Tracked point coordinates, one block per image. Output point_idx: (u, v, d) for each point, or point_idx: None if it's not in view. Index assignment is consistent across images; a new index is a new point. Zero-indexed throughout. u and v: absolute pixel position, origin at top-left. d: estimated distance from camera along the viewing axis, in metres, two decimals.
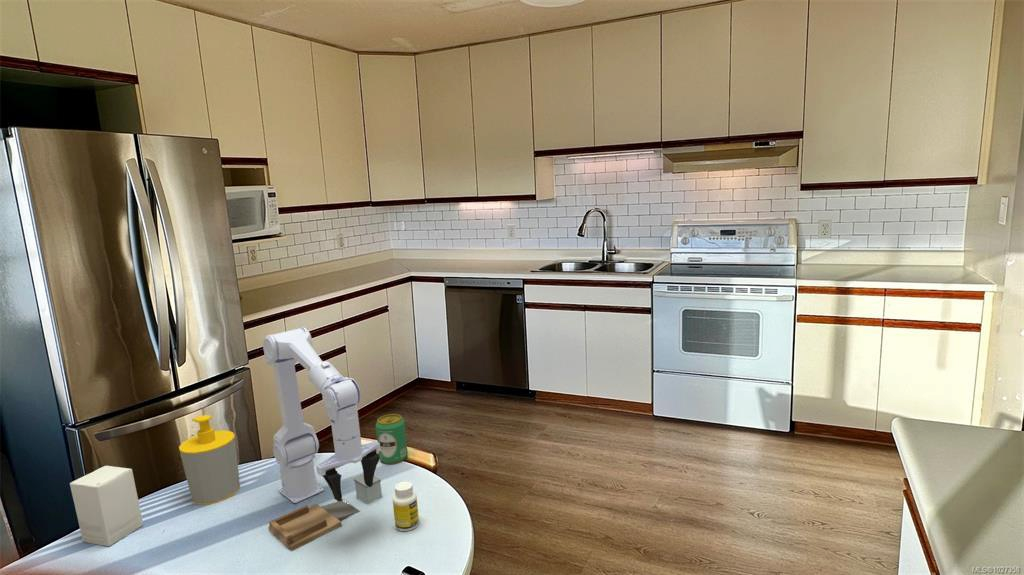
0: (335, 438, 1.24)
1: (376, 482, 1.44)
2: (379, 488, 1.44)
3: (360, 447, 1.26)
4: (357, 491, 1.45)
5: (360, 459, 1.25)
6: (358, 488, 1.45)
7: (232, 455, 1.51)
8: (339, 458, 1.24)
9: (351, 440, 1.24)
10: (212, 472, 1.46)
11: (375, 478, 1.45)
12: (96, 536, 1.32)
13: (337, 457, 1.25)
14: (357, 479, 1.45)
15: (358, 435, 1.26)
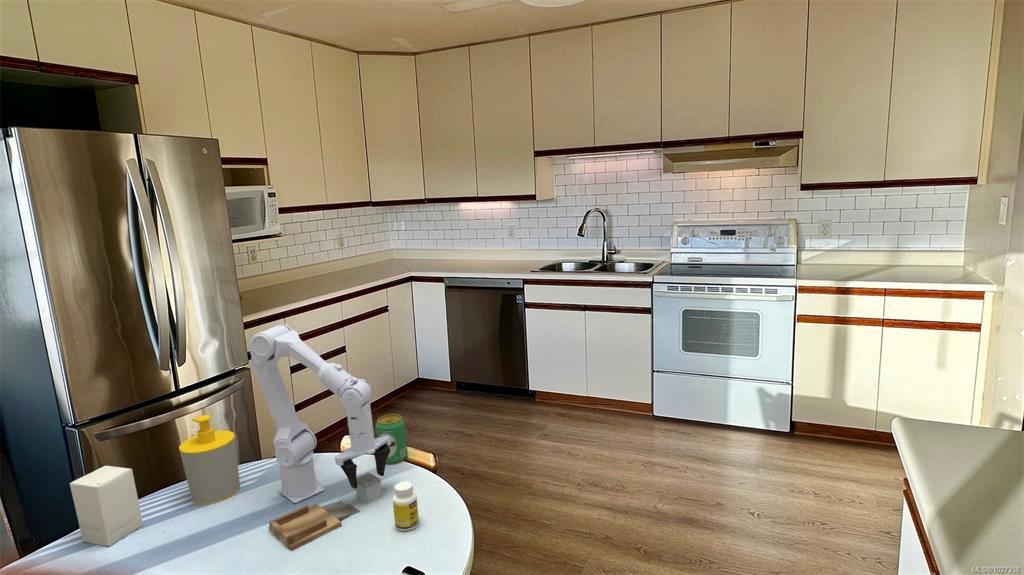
0: (356, 433, 1.40)
1: (376, 482, 1.44)
2: (379, 488, 1.44)
3: (373, 440, 1.43)
4: (357, 491, 1.45)
5: (373, 451, 1.41)
6: (358, 488, 1.45)
7: (232, 455, 1.51)
8: (355, 450, 1.41)
9: (365, 434, 1.40)
10: (212, 472, 1.46)
11: (375, 478, 1.45)
12: (96, 536, 1.32)
13: (353, 449, 1.41)
14: (357, 479, 1.45)
15: (371, 430, 1.42)
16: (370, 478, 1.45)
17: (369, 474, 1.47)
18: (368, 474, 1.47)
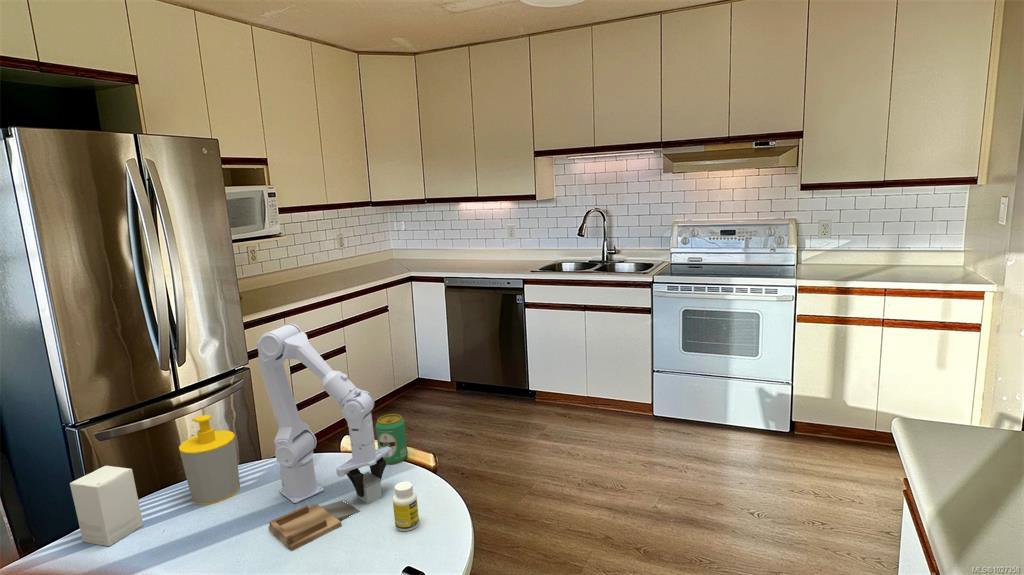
0: (358, 445, 1.40)
1: (376, 482, 1.44)
2: (379, 488, 1.44)
3: (374, 452, 1.43)
4: None
5: (375, 462, 1.41)
6: None
7: (232, 455, 1.51)
8: (356, 461, 1.41)
9: (367, 446, 1.41)
10: (212, 472, 1.46)
11: (375, 478, 1.45)
12: (96, 536, 1.32)
13: (354, 461, 1.42)
14: None
15: (373, 441, 1.42)
16: (370, 477, 1.45)
17: (369, 474, 1.47)
18: (368, 474, 1.47)
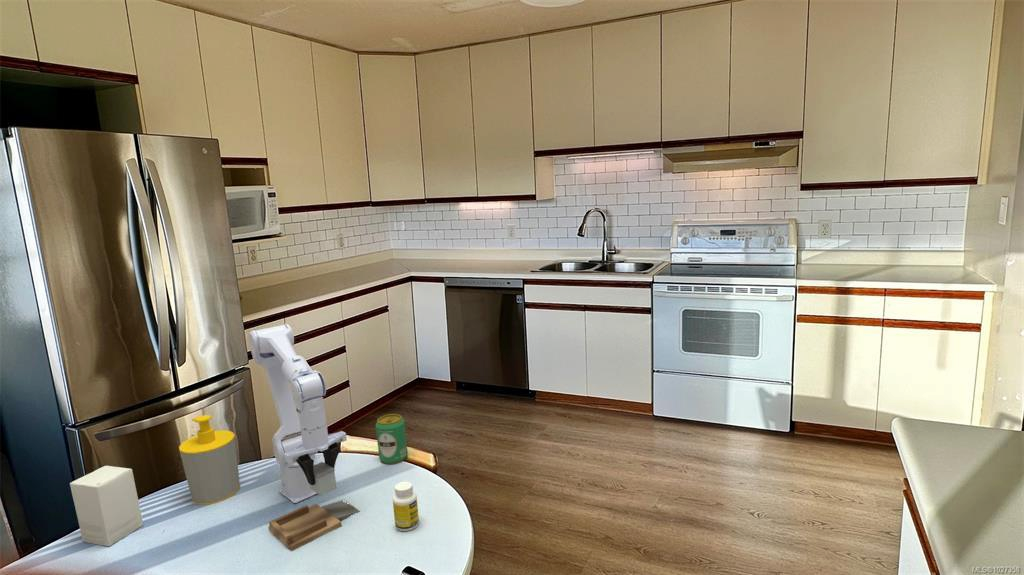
0: (301, 427, 1.31)
1: (329, 472, 1.34)
2: (333, 478, 1.35)
3: (326, 436, 1.34)
4: None
5: (326, 447, 1.32)
6: None
7: (232, 455, 1.51)
8: (306, 447, 1.32)
9: (317, 430, 1.31)
10: (212, 472, 1.46)
11: (329, 468, 1.35)
12: (96, 536, 1.32)
13: (304, 446, 1.32)
14: None
15: (324, 425, 1.33)
16: (323, 468, 1.35)
17: (323, 464, 1.37)
18: (322, 464, 1.37)
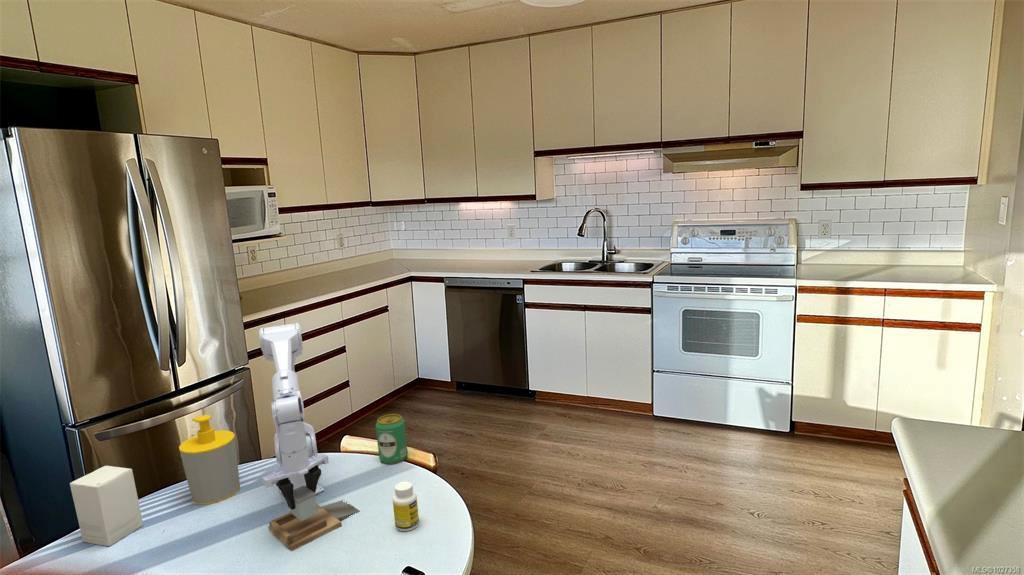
0: (280, 450, 1.29)
1: (310, 497, 1.31)
2: (314, 503, 1.32)
3: (307, 460, 1.31)
4: None
5: (306, 471, 1.29)
6: None
7: (232, 455, 1.51)
8: (286, 470, 1.29)
9: (297, 453, 1.28)
10: (212, 472, 1.46)
11: (309, 492, 1.32)
12: (96, 536, 1.32)
13: (284, 469, 1.29)
14: None
15: (304, 448, 1.30)
16: (304, 492, 1.32)
17: (304, 487, 1.34)
18: (303, 487, 1.34)
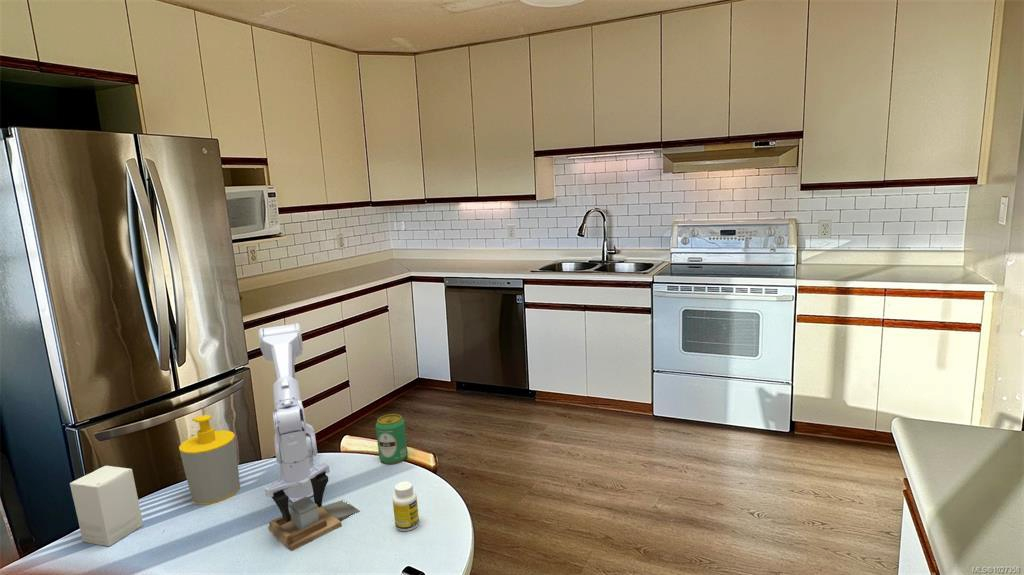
0: (281, 459, 1.29)
1: (312, 508, 1.31)
2: (316, 515, 1.32)
3: (308, 469, 1.31)
4: (292, 518, 1.33)
5: (307, 481, 1.29)
6: (293, 514, 1.33)
7: (232, 455, 1.51)
8: (287, 480, 1.29)
9: (298, 463, 1.29)
10: (212, 472, 1.46)
11: (312, 504, 1.33)
12: (96, 536, 1.32)
13: (285, 479, 1.30)
14: (292, 505, 1.33)
15: (306, 458, 1.30)
16: (306, 503, 1.33)
17: (306, 499, 1.35)
18: (305, 499, 1.35)
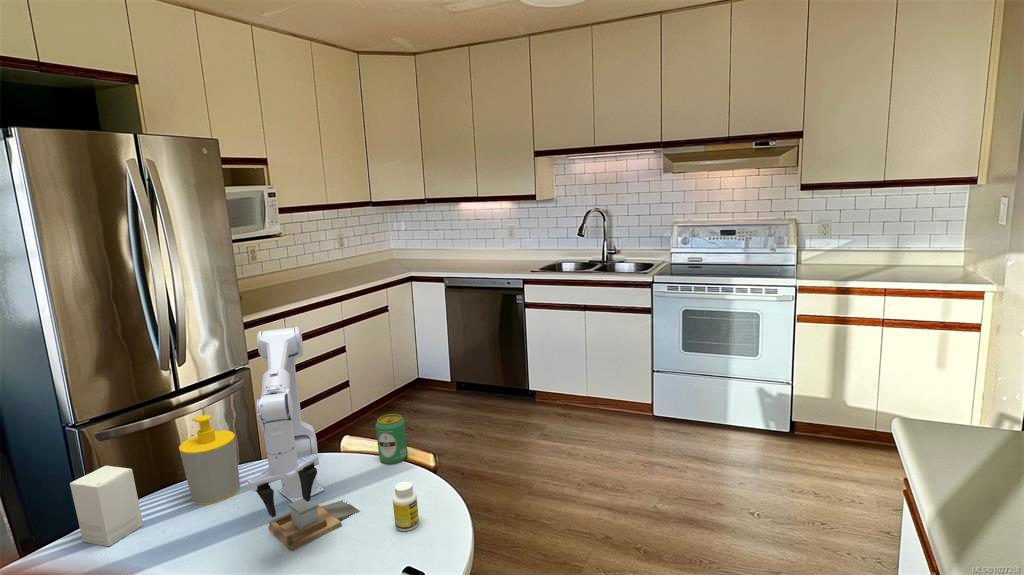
0: (266, 450, 1.21)
1: (312, 508, 1.31)
2: (316, 515, 1.32)
3: (295, 461, 1.22)
4: (292, 518, 1.33)
5: (294, 473, 1.20)
6: (293, 514, 1.33)
7: (232, 455, 1.51)
8: (272, 472, 1.20)
9: (284, 454, 1.20)
10: (212, 472, 1.46)
11: (312, 504, 1.33)
12: (96, 536, 1.32)
13: (271, 471, 1.21)
14: (292, 505, 1.33)
15: (293, 449, 1.22)
16: (306, 503, 1.33)
17: None
18: None
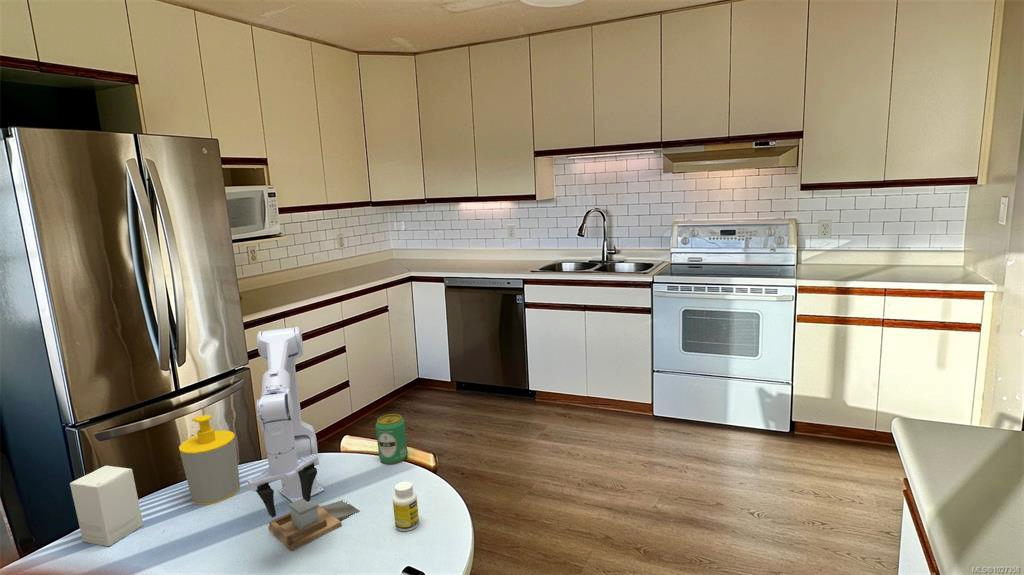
0: (266, 450, 1.21)
1: (312, 508, 1.31)
2: (316, 515, 1.32)
3: (295, 461, 1.22)
4: (292, 518, 1.33)
5: (294, 473, 1.20)
6: (293, 514, 1.33)
7: (232, 455, 1.51)
8: (272, 472, 1.20)
9: (284, 454, 1.20)
10: (212, 472, 1.46)
11: (312, 504, 1.33)
12: (96, 536, 1.32)
13: (271, 471, 1.21)
14: (292, 505, 1.33)
15: (293, 449, 1.22)
16: (306, 503, 1.33)
17: None
18: None
